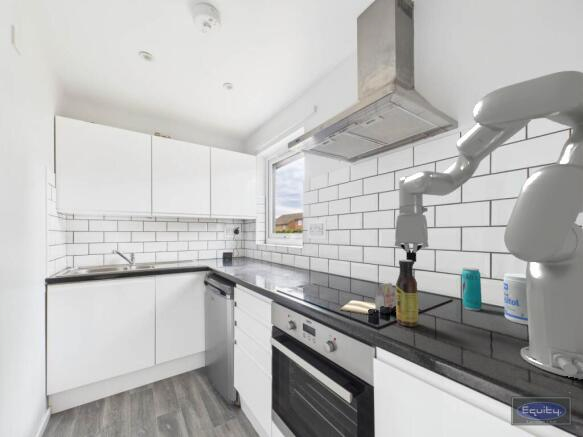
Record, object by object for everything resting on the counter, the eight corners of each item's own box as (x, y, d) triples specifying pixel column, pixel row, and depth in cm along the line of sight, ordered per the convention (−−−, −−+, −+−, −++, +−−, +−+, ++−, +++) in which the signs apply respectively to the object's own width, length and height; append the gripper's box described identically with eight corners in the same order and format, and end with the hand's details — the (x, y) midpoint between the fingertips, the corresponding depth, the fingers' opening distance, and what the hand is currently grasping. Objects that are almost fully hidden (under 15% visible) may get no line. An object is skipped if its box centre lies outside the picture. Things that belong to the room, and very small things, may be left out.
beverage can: (461, 306, 98) (460, 267, 99) (479, 307, 96) (478, 268, 97) (464, 310, 93) (462, 269, 94) (483, 312, 91) (481, 270, 92)
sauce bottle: (397, 319, 83) (395, 258, 84) (418, 322, 80) (416, 259, 81) (395, 326, 77) (394, 260, 78) (418, 329, 74) (416, 261, 75)
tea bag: (375, 311, 91) (375, 283, 92) (387, 308, 95) (386, 282, 95) (384, 314, 88) (383, 285, 89) (395, 311, 92) (395, 283, 92)
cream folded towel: (370, 315, 87) (370, 313, 87) (340, 310, 93) (340, 308, 93) (379, 305, 99) (379, 303, 99) (352, 301, 105) (351, 300, 105)
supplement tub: (497, 317, 85) (495, 273, 86) (520, 315, 87) (518, 272, 87) (528, 327, 75) (526, 278, 76) (554, 326, 77) (551, 277, 78)
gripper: (435, 211, 88) (436, 264, 87) (390, 212, 96) (390, 261, 95) (434, 210, 82) (435, 266, 81) (386, 211, 89) (386, 263, 89)
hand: (411, 263), depth 88 cm, fingers closed
